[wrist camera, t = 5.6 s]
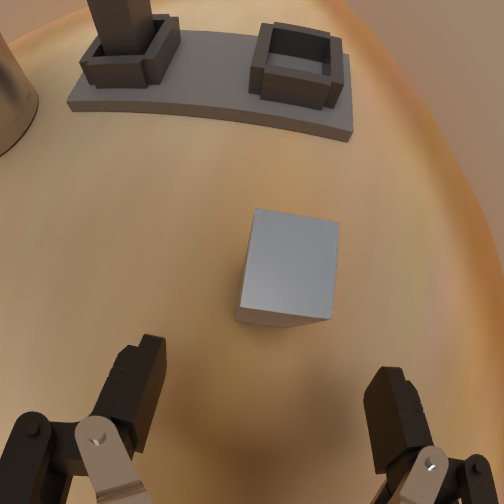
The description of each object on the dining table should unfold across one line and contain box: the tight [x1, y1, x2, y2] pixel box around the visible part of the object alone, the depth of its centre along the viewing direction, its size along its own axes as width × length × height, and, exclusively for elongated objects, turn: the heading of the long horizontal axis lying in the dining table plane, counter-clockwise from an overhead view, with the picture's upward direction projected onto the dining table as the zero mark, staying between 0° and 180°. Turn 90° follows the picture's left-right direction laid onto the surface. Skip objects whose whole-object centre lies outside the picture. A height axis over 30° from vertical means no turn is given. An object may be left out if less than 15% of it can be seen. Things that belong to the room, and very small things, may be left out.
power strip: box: [66, 0, 353, 142], centre depth 20 cm, size 24×10×11 cm, turn 82°
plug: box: [235, 208, 339, 328], centre depth 16 cm, size 3×4×10 cm
